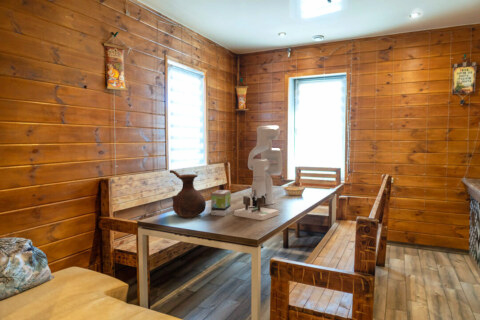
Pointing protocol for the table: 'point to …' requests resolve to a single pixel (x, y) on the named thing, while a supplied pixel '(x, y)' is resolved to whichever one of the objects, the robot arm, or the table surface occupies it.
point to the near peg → (259, 203)
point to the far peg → (247, 202)
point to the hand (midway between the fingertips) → (258, 205)
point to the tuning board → (256, 213)
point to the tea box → (220, 202)
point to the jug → (188, 198)
